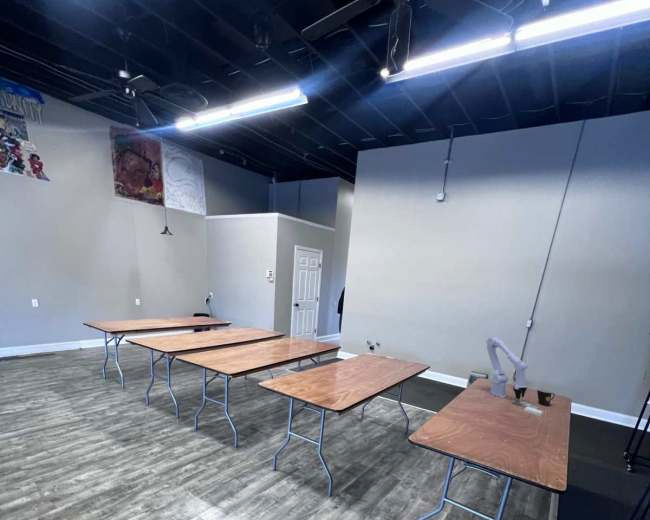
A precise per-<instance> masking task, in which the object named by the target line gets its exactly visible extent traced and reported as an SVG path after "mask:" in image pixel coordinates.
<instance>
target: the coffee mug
mask: <svg viewBox="0 0 650 520" xmlns="http://www.w3.org/2000/svg"><path fill="white" fill-rule="evenodd" d="M536 391H537V399H538V404H539V405H541V406H543V407H550V405H551V401H552V400H553V399H554V398H555V396H556V395H555V393H554V392H552V391H551V390H548V389H545V388H537V389H536ZM552 394H553V395H552Z"/></svg>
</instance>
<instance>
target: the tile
mask: <svg viewBox="0 0 650 520" xmlns="http://www.w3.org/2000/svg"><path fill="white" fill-rule="evenodd" d="M524 412H526V413H529V414H531V415H532V414H533V415H536V416H538V417H542V416H543V415H544V410H540V409H534V408H531V407H525V408H524Z"/></svg>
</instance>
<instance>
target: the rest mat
mask: <svg viewBox="0 0 650 520" xmlns="http://www.w3.org/2000/svg"><path fill="white" fill-rule="evenodd" d="M510 403H511V404H515V405H518V406H521V407H525V408H526V407H528V406H525V405H522V404H519V403H518V402H515V401H514V399H512V400H510ZM530 407H531V408H534V409H538V410H540V406H537V405H534V404H532V405H531V406H530Z"/></svg>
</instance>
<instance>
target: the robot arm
mask: <svg viewBox="0 0 650 520" xmlns="http://www.w3.org/2000/svg"><path fill="white" fill-rule="evenodd" d="M486 344H487V345H486V346H487V347H486V349H487V352H488V356H489V359H490V363H491V365H492V369H493V372H492V373H491V374H492V380H493V381H492V382H491V385H490V395H493V396H496V397H499V398H502V399H505V398H507V397H508V395H506V387H507V386H506V385H507V383H508V381H509V380H508V376H507V375H506V373H505V372H504V371H503V370H502V367H501V363H500V361H499V357H498V354H497V352H496V351H497V350H496V349H497V348H500V350H502V351H503V353H505V355H506V356H507V359H508V361H510V362H511V363H512V364H513V367H514V369H515V386H514V387H513V388H512V390H513V393H514V392H515V395H516V398H517V399H520V396H521V393H522V398H524V397H525V393H526V391H527V389H528V387H527V386H526V370H527V368H528V365H527V364H526V362H524V361H522V360H521V359H520V358H519V357H518V355H517V354H516V353H513V352H511V351H510V349H509V348H508V346H506V344H505V343H504V341H503V340H502V339H501V337H499V336H498V337H488V338H487V339H486Z"/></svg>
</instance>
